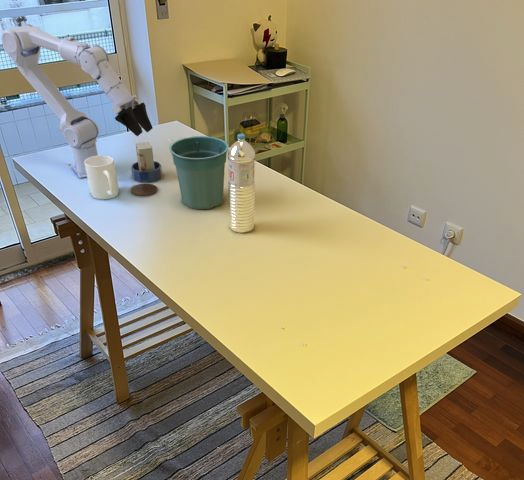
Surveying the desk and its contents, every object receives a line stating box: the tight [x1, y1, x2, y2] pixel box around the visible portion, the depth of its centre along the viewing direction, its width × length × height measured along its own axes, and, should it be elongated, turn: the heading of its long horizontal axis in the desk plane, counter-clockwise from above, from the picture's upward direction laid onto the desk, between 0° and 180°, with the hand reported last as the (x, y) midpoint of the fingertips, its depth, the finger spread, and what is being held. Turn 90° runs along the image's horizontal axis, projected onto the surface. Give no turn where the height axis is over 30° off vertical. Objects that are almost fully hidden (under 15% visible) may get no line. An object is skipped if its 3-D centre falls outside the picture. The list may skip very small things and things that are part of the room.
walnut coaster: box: [130, 183, 158, 197], centre depth 164 cm, size 8×8×1 cm
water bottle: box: [227, 133, 256, 234], centre depth 139 cm, size 7×7×25 cm
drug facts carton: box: [135, 141, 155, 171], centre depth 169 cm, size 5×4×10 cm
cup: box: [84, 154, 120, 200], centre depth 158 cm, size 8×12×10 cm
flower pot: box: [168, 135, 230, 210], centre depth 154 cm, size 16×16×16 cm
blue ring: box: [130, 160, 163, 184], centre depth 171 cm, size 9×9×4 cm
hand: (145, 132), depth 156 cm, fingers open, 7 cm apart
